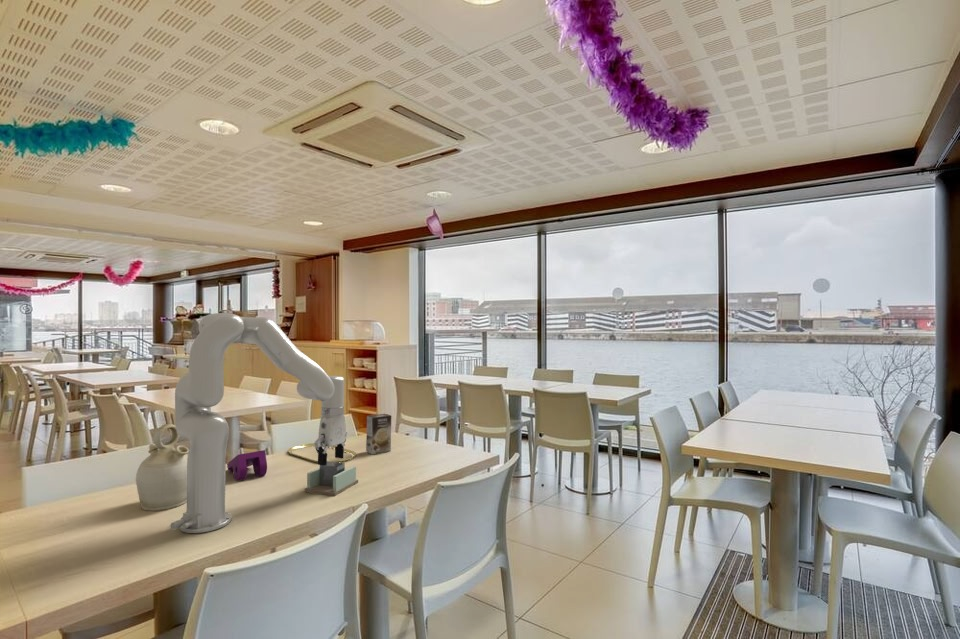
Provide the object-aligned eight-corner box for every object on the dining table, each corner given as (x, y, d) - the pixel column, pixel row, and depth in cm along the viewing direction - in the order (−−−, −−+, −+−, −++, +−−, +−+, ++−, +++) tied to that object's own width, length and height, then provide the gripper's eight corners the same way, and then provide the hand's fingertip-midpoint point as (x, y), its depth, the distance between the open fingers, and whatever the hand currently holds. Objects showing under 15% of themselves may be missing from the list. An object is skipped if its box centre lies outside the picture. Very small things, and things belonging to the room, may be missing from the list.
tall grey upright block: (336, 487, 165) (337, 466, 165) (319, 485, 167) (319, 464, 167) (344, 483, 169) (344, 463, 169) (327, 481, 171) (327, 461, 171)
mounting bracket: (226, 488, 183) (240, 478, 171) (224, 466, 185) (237, 454, 174) (252, 483, 189) (268, 472, 177) (249, 461, 192) (264, 449, 180)
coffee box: (372, 455, 209) (372, 417, 209) (365, 451, 214) (366, 415, 214) (391, 451, 215) (391, 415, 215) (384, 448, 220) (384, 413, 220)
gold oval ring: (326, 468, 191) (327, 464, 191) (279, 452, 212) (279, 449, 212) (364, 457, 206) (365, 454, 206) (317, 444, 227) (317, 441, 227)
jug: (203, 501, 154) (204, 422, 154) (148, 517, 141) (149, 431, 141) (180, 491, 162) (181, 417, 162) (126, 505, 150) (127, 425, 150)
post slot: (334, 495, 159) (335, 477, 159) (304, 491, 163) (304, 473, 163) (358, 482, 173) (358, 465, 173) (329, 479, 176) (329, 462, 176)
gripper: (326, 416, 159) (324, 469, 158) (355, 408, 175) (354, 456, 175) (307, 414, 161) (305, 466, 160) (337, 407, 177) (336, 454, 177)
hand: (330, 461), depth 168 cm, fingers open, 9 cm apart
